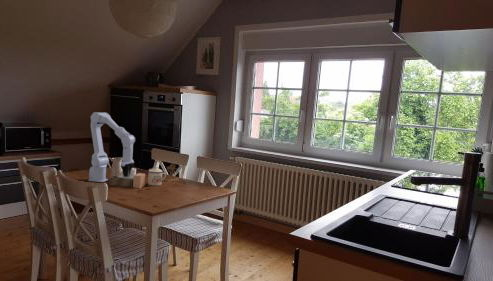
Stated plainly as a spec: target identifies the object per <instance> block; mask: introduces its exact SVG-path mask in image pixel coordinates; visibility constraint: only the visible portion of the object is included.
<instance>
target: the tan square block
mask: <svg viewBox="0 0 493 281" xmlns="http://www.w3.org/2000/svg"><path fill="white" fill-rule="evenodd" d="M132 177H133V187H132V188H133V189H134V188H135V189H142V187H146V186H145V185H146V173H142V172H138V173H136V174H134V175H133V176H132Z"/></svg>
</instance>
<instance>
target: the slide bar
mask: <svg viewBox="0 0 493 281" xmlns="http://www.w3.org/2000/svg"><path fill="white" fill-rule="evenodd" d="M130 175H131V173H130V170H129V171H128V176H127V177H126V176H124V175H120V174H119V175H117V176H118V178H122V179H132V180H133V177H134V176H133V175H131V176H130Z"/></svg>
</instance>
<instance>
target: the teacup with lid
mask: <svg viewBox="0 0 493 281" xmlns="http://www.w3.org/2000/svg"><path fill="white" fill-rule="evenodd" d="M166 175H167V174H166V173H165V172H163V170H162V169H160V168H158V166H154V167H152V168H149V169H148V175H147V176H148V177H147V178H148V179H147V184H148V185H149V186H153V187H155V186H162V181H163V180H164V181H165V179H166Z"/></svg>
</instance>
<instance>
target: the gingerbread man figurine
mask: <svg viewBox="0 0 493 281" xmlns="http://www.w3.org/2000/svg"><path fill="white" fill-rule="evenodd" d="M166 170H167V171H168V172H169V173H170V174H169V175H168V177H167V178H165V179H164V181H165V182H167V183H168V182H169V183H170V182H179V181H180V179H178V178H177V176H176V174H178V171H179V170H178V169H177V168H176V164H175V163H171V164H170V165H169V166H167V167H166ZM175 170H176V171H175ZM173 175H174V176H173Z"/></svg>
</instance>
